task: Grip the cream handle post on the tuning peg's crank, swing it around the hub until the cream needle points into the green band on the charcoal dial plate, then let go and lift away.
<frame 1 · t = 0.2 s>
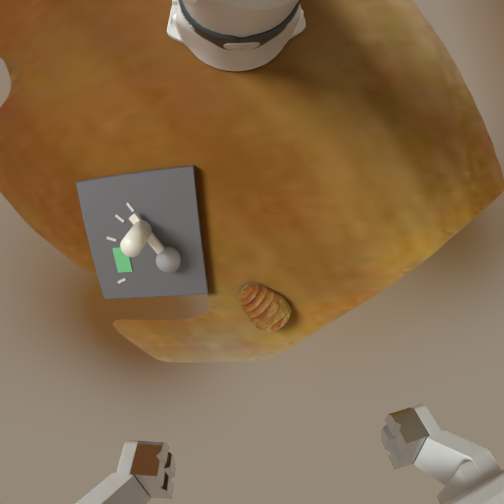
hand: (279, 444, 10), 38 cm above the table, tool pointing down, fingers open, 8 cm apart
dial plate: (143, 236, 47), on the table
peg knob: (150, 250, 42), point 6 cm above the table, hinge at 0.0°
pastry: (263, 303, 54), on the table
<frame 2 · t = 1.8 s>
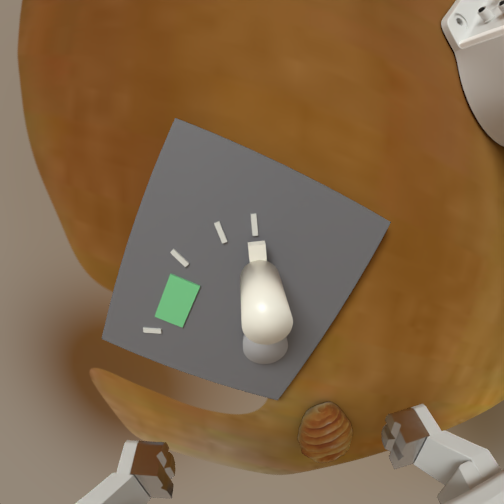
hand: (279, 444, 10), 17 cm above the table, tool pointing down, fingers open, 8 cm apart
dial plate: (234, 279, 26), on the table
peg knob: (265, 327, 21), point 6 cm above the table, hinge at 0.0°
pastry: (321, 425, 34), on the table
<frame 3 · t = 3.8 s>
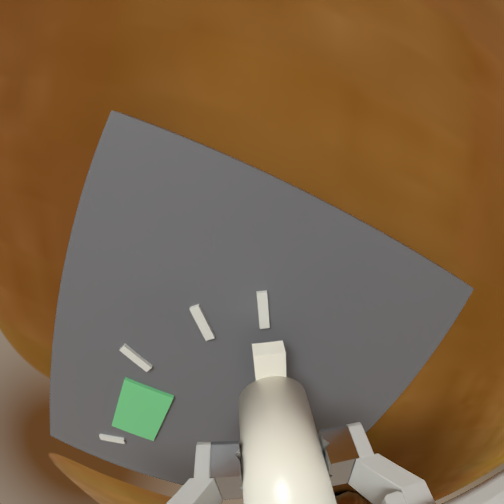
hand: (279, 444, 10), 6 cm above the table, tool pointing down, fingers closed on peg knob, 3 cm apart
dial plate: (228, 379, 15), on the table
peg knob: (280, 475, 11), point 6 cm above the table, hinge at -0.1°, touching gripper
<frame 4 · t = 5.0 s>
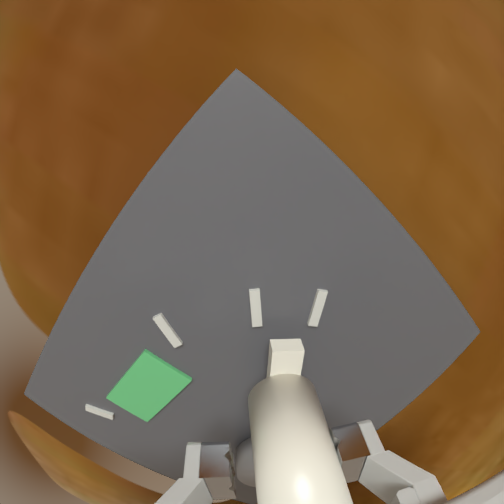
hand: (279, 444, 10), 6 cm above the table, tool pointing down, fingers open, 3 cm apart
dial plate: (245, 371, 15), on the table
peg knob: (282, 475, 11), point 6 cm above the table, hinge at 8.2°, touching gripper
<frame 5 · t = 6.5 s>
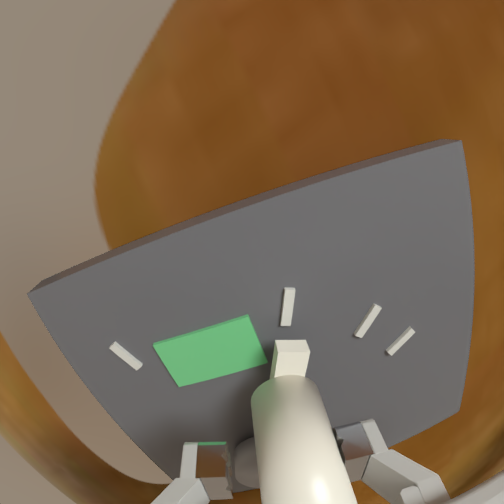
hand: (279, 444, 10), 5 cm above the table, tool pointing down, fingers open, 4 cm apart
dial plate: (295, 370, 15), on the table
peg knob: (284, 476, 10), point 5 cm above the table, hinge at 36.9°, touching gripper
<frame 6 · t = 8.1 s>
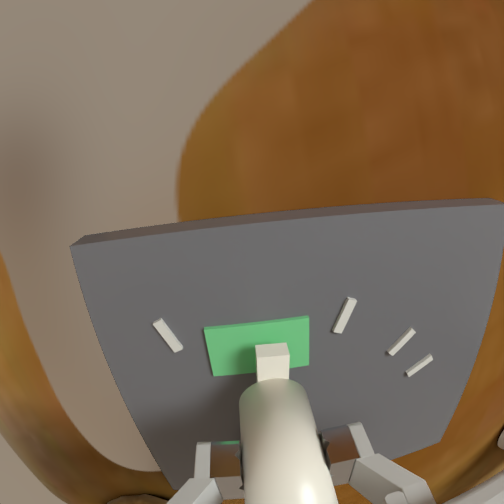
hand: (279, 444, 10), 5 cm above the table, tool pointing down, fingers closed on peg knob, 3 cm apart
dial plate: (318, 377, 16), on the table
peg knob: (279, 478, 11), point 5 cm above the table, hinge at 57.0°, touching gripper
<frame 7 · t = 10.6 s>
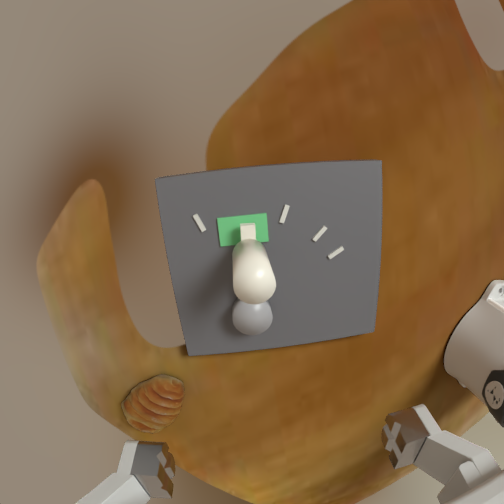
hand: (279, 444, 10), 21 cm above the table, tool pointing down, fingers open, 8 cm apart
dial plate: (278, 260, 30), on the table
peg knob: (252, 296, 25), point 5 cm above the table, hinge at 57.4°
pastry: (154, 395, 36), on the table
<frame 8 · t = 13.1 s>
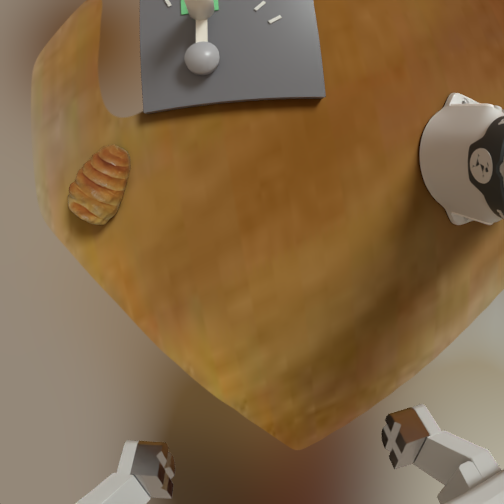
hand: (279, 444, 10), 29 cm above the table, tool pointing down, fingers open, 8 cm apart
dial plate: (228, 31, 29), on the table
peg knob: (199, 22, 24), point 6 cm above the table, hinge at 57.4°
pastry: (102, 185, 35), on the table
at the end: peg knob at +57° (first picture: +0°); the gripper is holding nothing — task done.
